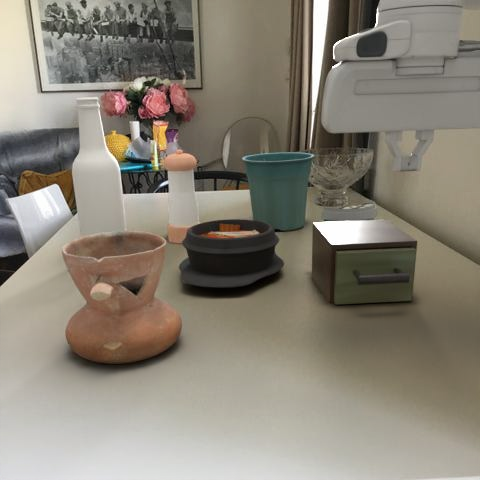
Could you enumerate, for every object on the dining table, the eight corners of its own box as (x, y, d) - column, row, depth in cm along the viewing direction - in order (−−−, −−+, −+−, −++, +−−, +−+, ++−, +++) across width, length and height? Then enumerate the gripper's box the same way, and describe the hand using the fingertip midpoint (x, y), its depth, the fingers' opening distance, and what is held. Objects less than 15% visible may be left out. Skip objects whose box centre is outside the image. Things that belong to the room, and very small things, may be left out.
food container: (343, 267, 103) (345, 212, 99) (320, 260, 108) (321, 207, 104) (388, 254, 110) (392, 202, 106) (364, 248, 114) (367, 198, 110)
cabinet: (411, 302, 85) (417, 240, 82) (329, 307, 85) (331, 244, 81) (383, 273, 99) (386, 219, 95) (311, 277, 98) (312, 222, 95)
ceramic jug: (172, 380, 65) (162, 261, 59) (48, 381, 66) (27, 263, 60) (192, 320, 81) (185, 223, 76) (93, 321, 82) (79, 225, 77)
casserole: (203, 253, 114) (201, 211, 111) (295, 257, 110) (295, 214, 107) (156, 294, 92) (151, 244, 89) (268, 302, 88) (267, 249, 84)
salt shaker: (167, 236, 128) (160, 148, 121) (199, 234, 129) (194, 147, 122) (169, 244, 122) (162, 152, 114) (203, 242, 123) (198, 150, 115)
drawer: (422, 311, 80) (427, 257, 77) (342, 315, 79) (344, 261, 76) (384, 273, 96) (387, 228, 93) (317, 276, 96) (318, 231, 93)
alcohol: (93, 254, 116) (72, 97, 105) (135, 254, 115) (118, 96, 104) (77, 266, 108) (53, 98, 97) (122, 266, 107) (103, 97, 96)
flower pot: (247, 235, 127) (245, 161, 121) (241, 220, 142) (239, 153, 136) (319, 232, 128) (321, 158, 122) (306, 217, 143) (306, 150, 137)
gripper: (495, 41, 65) (479, 164, 71) (319, 45, 64) (317, 170, 70) (524, 36, 59) (504, 171, 65) (331, 41, 58) (327, 178, 64)
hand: (405, 171), depth 67 cm, fingers closed
